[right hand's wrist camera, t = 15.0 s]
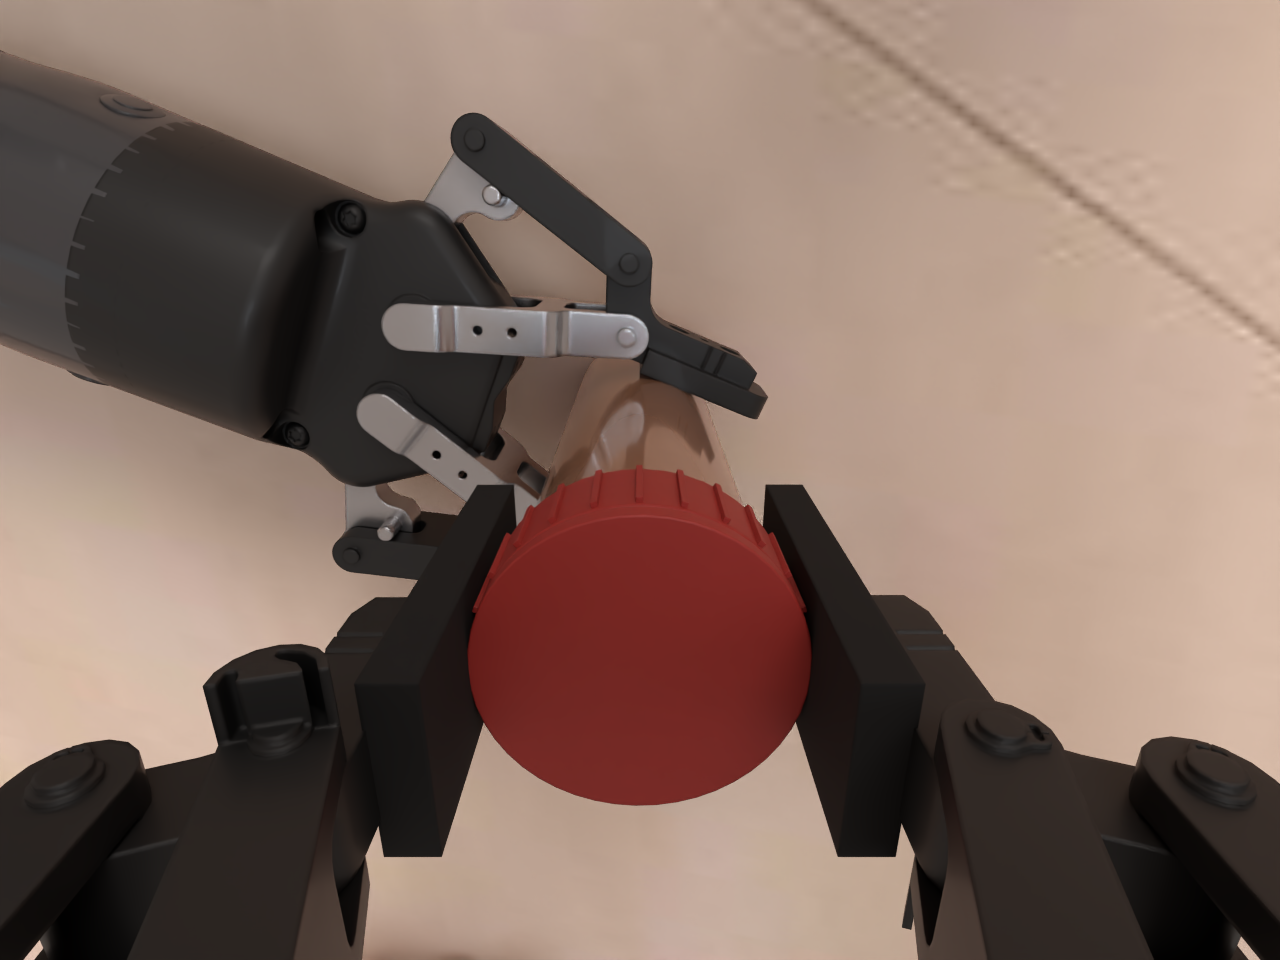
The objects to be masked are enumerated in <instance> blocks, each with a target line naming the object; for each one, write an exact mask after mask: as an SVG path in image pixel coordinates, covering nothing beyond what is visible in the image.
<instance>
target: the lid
mask: <svg viewBox="0 0 1280 960" xmlns="http://www.w3.org/2000/svg"><path fill="white" fill-rule="evenodd" d="M472 612H473V613H476V614H475V617H474V620H473V624H472V627H471V630H470V635H469V642H468V648H467V653H468V666H469V676H470V685H471V692H472V695H473V698H474V701H475V704H476V707H477V709H478V711H479V713H480V716H481V718H482V720H483V722H484V724H485V725H486V727H487V728H488V730H489V731H490V733H491V734H492V736H493V737H494V739H495V740H496V741H497V742H498V743H499V745H500V746H501V747H502V748H503V749H504V750H505V751H506V753H507V754H508V755H510V756H511V757H512V758H513V759H514V760H515V761H516V762H517V763H519V764H520V765H521V766H522V767H523V768H525V769H526V770H528V771H529V772H531V773H532V774H533V775H535V776H536V777H538V778H539V779H541V780H543V781H545V782H547V783H549V784H551V785H553V786H554V787H556V788H559V789H561V790H564V791H566V792H569V793H571V794H574V795H577V796H580V797H584V798H587V799H591V800H594V801H600V802H606V803H611V804H620V805H635V806H638V805H660V804H667V803H675V802H680V801H684V800H688V799H692V798H696V797H699V796H702V795H705V794H708V793H711V792H713V791H716V790H718V789H720V788H722V787H725V786H727V785H729V784H731V783H733V782H735V781H736V780H738V779H739V778H741V777H743V776H744V775H746V774H747V773H749V772H751V771H752V770H753V769H754V768H756V767H757V766H758V765H759V764H761V763H762V762H763V761H764V760H766V759H767V758H768V757H769V756H770V755H771V754H772V753H773V751H774V750H775V749H776V748H777V747H778V746H779V745H780V744H781V743H782V741H783V740H784V739H785V737H786V736H787V735H788V733H789V732H790V731H791V729H792V727H793V725H794V724H795V722H796V720H797V718H798V716H799V714H800V713H801V710H802V707H803V705H804V702H805V699H806V697H807V693H808V688H809V681H810V671H811V661H812V648H811V638H810V634H809V630H808V626H807V622H806V619H805V616H804V614H803V613H804V612H807V610H806V606H805V604H804V601H803V599H802V597H801V595H800V592H799V590H798V588H797V585H796V583H795V581H794V578H793V576H792V574H791V571H790V569H789V567H788V565H787V563H786V561H785V558H784V556H783V554H782V551H781V549H780V547H779V544H778V542H777V540H776V537H775V535H774V534H773V533H770V534H767V532H766V530H765V529H764V528H763V526H762V525H761V524H760V523H759V522H758V521H757V519H756V517H755V514H754V512H753V509H752V507H750V506H749V505H747V506H745V507H743V506H742V505H741V504H740V503H739V502H738V501H736V500H735V499H733V498H732V497H730V496H729V495H727V494H726V493H724V492H723V491H722V488H721V485H719V484H717V483H715V484H714V486H711V485H709V484H707V483H705V482H703V481H700V480H697V479H695V478H692V477H689V476H686V475H684V472H683V470H679V469H677V472H676V473H673V472H668V471H662V470H650V469H643V465H636V469H630V470H618V471H612V472H606V473H603V472H602V469H600V470H596V471H595V475H594V476H591V477H587V478H584V479H581V480H579V481H577V482H574V483H572V484H570V485H568V486H565V484H564V483H562V484H560V485H558V488H557V491H556V492H555V493H553V494H552V495H550V496H548V497H547V498H546V499H544V500H543V501H542V502H541V503H539V504H538V505H537V506H536V507H533V506H532V505H530V506H529V507H528V508H527V510H526V512H525V515H524V517H523V520H522V521H521V522H520V523H519V524H518V526H517V527H516V528H515V530H514V531H513V533H512V534H511V535H510V534H509V533H506V534H505V536H504V538H503V540H502V543H501V545H500V547H499V550H498V552H497V554H496V557H495V559H494V561H493V563H492V565H491V568H490V570H489V572H488V575H487V577H486V579H485V581H484V584H483V586H482V588H481V591H480V593H479V595H478V598H477V600H476V602H475V604H474V607H473V610H472Z"/></svg>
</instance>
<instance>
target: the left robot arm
mask: <svg viewBox="0 0 1280 960" xmlns="http://www.w3.org/2000/svg"><path fill="white" fill-rule="evenodd" d="M451 145H452V148H453V151H454V153H453V155H452V157H451V158H450V160H449V162H448V163H447V165H446V167H445V168H444V170H443V171H442V173H441V175H440V176H439V178H438V180H437V181H436V183H435V185H434V186H433V188H432V189H431V191H430V193H429V194H428V196H427V198H426V199H425V201H419V200H406V201H400V202H386V201H383V200H379V199H376V198H373V197H371V196H369V195H366V194H364V193H362V192H359V191H357V190H355V189H352V188H350V187H348V186H345V185H343V184H340V183H338V182H336V181H333V180H331V179H329V178H326V177H324V176H322V175H319V174H317V173H315V172H312V171H310V170H308V169H305V168H303V167H300V166H298V165H296V164H293V163H291V162H289V161H286V160H284V159H282V158H279V157H277V156H275V155H272V154H270V153H267V152H265V151H263V150H260V149H258V148H256V147H253V146H251V145H249V144H246V143H244V142H242V141H239V140H237V139H235V138H232V137H230V136H227V135H225V134H223V133H220V132H218V131H216V130H213V129H211V128H209V127H206V126H204V125H201V124H199V123H196V122H194V121H192V120H189V119H187V118H185V117H182V116H180V115H178V114H175V113H173V112H171V111H168V110H166V109H164V108H161V107H159V106H157V105H154V104H152V103H150V102H147V101H145V100H143V99H140V98H138V97H136V96H133V95H131V94H129V93H126V92H124V91H121V90H119V89H116V88H114V87H111V86H108V85H106V84H103V83H101V82H98V81H94V80H91V79H88V78H85V77H81V76H78V75H75V74H71V73H68V72H65V71H61V70H57V69H54V68H50V67H46V66H42V65H39V64H35V63H32V62H29V61H27V60H24V59H21V58H19V57H16V56H13V55H10V54H7V53H5V52H3V51H1V50H0V344H1V345H3V346H6V347H8V348H11V349H13V350H16V351H18V352H20V353H23V354H25V355H28V356H31V357H34V358H36V359H39V360H42V361H44V362H47V363H50V364H53V365H55V366H58V367H61V368H63V369H66V370H67V371H68V372H70V373H72V374H73V375H74V376H76V377H78V378H80V379H83V380H86V381H89V382H93V383H97V384H101V385H107V386H112V387H115V388H118V389H120V390H123V391H126V392H128V393H131V394H134V395H137V396H139V397H142V398H145V399H147V400H150V401H153V402H155V403H158V404H161V405H164V406H166V407H169V408H172V409H174V410H177V411H180V412H183V413H185V414H188V415H191V416H193V417H196V418H199V419H202V420H204V421H207V422H210V423H212V424H215V425H218V426H221V427H223V428H226V429H229V430H231V431H234V432H237V433H240V434H242V435H245V436H248V437H250V438H253V439H256V440H260V441H263V442H267V443H271V444H276V445H281V446H285V447H289V448H293V449H297V450H300V451H302V452H304V453H306V454H308V455H309V456H311V457H312V458H314V459H315V460H316V461H318V462H319V463H320V464H321V465H322V466H323V467H324V468H325V469H326V470H327V471H328V472H329V473H330V474H331V475H332V476H333V477H335V478H336V479H338V480H339V481H341V482H343V483H345V504H346V530H345V532H344V534H343V536H342V537H341V538H340V539H339V540H338V541H337V542H336V543H335V545H334V547H333V550H332V554H333V558H334V560H335V562H336V563H337V564H338V566H340V567H341V568H342V569H344V570H346V571H349V572H354V573H363V574H371V575H380V576H389V577H397V578H406V579H414V580H418V579H419V578H420V576H421V575H422V573H423V571H424V570H425V568H426V567H427V565H428V563H429V562H430V560H431V558H432V557H433V555H434V554H435V552H436V550H437V549H438V547H439V546H440V544H441V542H442V541H443V539H444V537H445V536H446V534H447V533H448V531H449V529H450V528H451V526H452V525H453V523H454V521H455V520H456V518H457V517H458V516H457V515H449V514H441V513H433V512H424V511H421V510H420V508H419V506H418V504H417V503H416V501H415V500H414V499H412V498H408V497H405V496H401V495H399V494H397V493H395V492H394V491H393V490H392V489H391V488H390V487H389V486H388V484H387V483H388V482H393V481H397V480H401V479H406V478H410V477H415V476H419V475H423V474H428V473H429V474H430V475H431V476H433V477H434V478H435V479H437V480H438V481H439V482H441V483H442V484H443V485H445V486H446V487H447V488H449V489H450V490H451V491H453V492H454V493H455V494H456V495H458V496H459V497H460V498H462V499H463V500H464V501H466V502H467V500H468V499H469V497H470V496H471V494H472V492H473V491H474V489H475V487H476V486H477V485H514V494H515V508H516V523H517V526H518V524H519V523H520V522H521V521H522V520H523V517H524V515H525V512H526V510H527V508H528V507H529V506H530V505H532V506H533V507H536V505H537V502H538V500H539V497H540V494H541V492H542V489H543V486H544V483H545V481H546V478H547V475H548V473H549V472H547V471H546V470H545V469H544V468H542V467H541V466H540V465H539V464H537V463H536V462H535V461H533V460H532V459H531V458H530V457H529V455H528V454H527V452H526V450H525V448H524V447H523V446H522V445H521V444H520V443H519V442H518V441H517V440H515V439H514V438H513V437H512V436H510V435H509V434H508V433H507V432H505V431H504V430H503V429H502V428H500V425H501V422H502V419H503V416H504V413H505V409H506V394H507V386H508V384H509V382H510V381H511V379H512V378H513V377H514V375H515V374H516V372H517V371H518V369H519V368H520V367H521V365H522V363H523V360H524V357H525V356H526V357H542V358H553V357H559V356H580V357H595V358H611V359H631V360H633V361H636V362H638V363H640V373H641V374H644V375H646V376H648V377H651V378H653V379H656V380H658V381H661V382H663V383H666V384H669V385H671V386H674V387H676V388H678V389H680V390H683V391H685V392H687V393H690V394H692V395H695V396H697V397H700V398H702V399H704V400H707V401H709V402H712V403H714V404H717V405H719V406H722V407H724V408H726V409H729V410H731V411H734V412H736V413H739V414H741V415H743V416H746V417H749V418H752V419H758V417H759V415H760V412H761V410H762V408H763V406H764V404H765V402H766V400H767V398H768V396H767V395H766V393H765V392H764V391H763V389H762V388H761V387H760V386H759V385H758V384H756V383H754V382H753V381H754V379H755V377H756V374H757V373H756V371H755V370H754V369H753V367H752V366H751V365H750V364H749V363H748V362H747V361H746V360H745V359H744V357H743V356H742V355H741V354H740V353H739V352H738V351H736V350H733V349H731V348H728V347H726V346H724V345H721V344H719V343H717V342H714V341H712V340H710V339H707V338H705V337H703V336H700V335H698V334H695V333H693V332H691V331H688V330H686V329H684V328H681V327H679V326H677V325H674V324H672V323H669V322H667V321H665V320H663V319H662V318H660V317H659V316H658V315H657V314H656V313H655V311H654V310H653V308H652V306H651V303H650V295H651V274H652V257H651V254H650V251H649V249H648V247H647V246H646V244H645V243H644V242H643V241H641V240H640V239H639V238H638V237H636V236H635V235H634V234H633V233H631V232H630V231H629V230H628V229H627V228H625V227H624V226H623V225H622V224H620V223H619V222H618V221H617V220H615V219H614V218H613V217H612V216H611V215H609V214H608V213H607V212H606V211H604V210H603V209H602V208H601V207H599V206H598V205H597V204H596V203H595V202H593V201H592V200H591V199H590V198H588V197H587V196H586V195H585V194H583V193H582V192H581V191H580V190H579V189H577V188H576V187H575V186H574V185H572V184H571V183H570V182H569V181H568V180H566V179H565V178H564V177H563V176H561V175H560V174H559V173H558V172H556V171H555V170H554V169H553V168H552V167H550V166H549V165H548V164H547V163H545V162H544V161H543V160H542V159H540V158H539V157H538V156H537V155H536V154H534V153H533V152H532V151H531V150H529V149H528V148H527V147H526V146H524V145H523V144H522V143H521V142H520V141H518V140H517V139H516V138H515V137H513V136H512V135H511V134H510V133H508V132H507V131H506V130H504V129H503V128H502V127H500V126H499V125H497V124H496V123H494V122H493V121H491V120H490V119H489V118H487V117H486V116H484V115H482V114H479V113H468V114H465V115H463V116H461V117H460V118H458V120H457V121H456V122H455V123H454V125H453V128H452V131H451ZM522 210H524V211H525V212H527V213H528V214H529V215H530V216H532V217H533V218H534V219H536V220H537V221H538V222H539V223H541V224H542V225H543V226H544V227H546V228H547V229H548V230H549V231H551V232H552V233H553V234H555V235H556V236H557V237H558V238H560V239H561V240H562V241H563V242H565V243H566V244H567V245H568V246H570V247H571V248H572V249H574V250H575V251H576V252H577V253H579V254H580V255H581V256H582V257H584V258H585V259H586V260H588V261H589V262H590V263H591V264H593V265H594V266H595V267H596V268H598V269H599V270H600V271H601V272H603V273H604V274H605V275H607V283H606V303H597V302H582V301H572V300H569V299H562V298H549V297H534V296H520V295H509V293H508V292H507V290H506V288H505V287H504V285H503V284H502V282H501V281H500V279H499V278H498V276H497V275H496V273H495V272H494V270H493V269H492V267H491V266H490V264H489V263H488V261H487V260H486V258H485V257H484V255H483V254H482V252H481V251H480V249H479V247H478V246H477V244H476V243H475V241H474V240H473V238H472V237H471V235H470V234H469V232H468V231H467V229H466V228H465V226H464V225H463V223H462V222H463V221H464V220H465V219H466V218H467V217H468V216H470V215H472V214H474V213H480V214H482V215H484V216H486V217H488V218H490V219H492V220H498V221H507V220H512V219H514V218H516V217H517V216H518V215H519V214H520V213H521V212H522ZM464 471H465V472H466V473H465V472H464Z"/></svg>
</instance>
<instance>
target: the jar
mask: <svg viewBox="0 0 1280 960" xmlns="http://www.w3.org/2000/svg"><path fill="white" fill-rule="evenodd" d="M636 465H643V469H650V470H662V471H668V472H673V473H676V472H677V469H679V470H683V472H684V475H686V476H689V477H692V478H695V479H697V480H700V481H703V482H705V483H707V484H709V485H711V486H714V484H715V483H717V484H719V485H721V488H722V491H723V492H724V493H726V494H727V495H729V496H730V497H732V498H733V499H735V500H736V501H738V502H739V503H740V504H741V505H742V506H743V504H742V501H741V498H740V496H739V493H738V490H737V487H736V485H735V482H734V479H733V476H732V474H731V471H730V468H729V465H728V463H727V460H726V457H725V454H724V452H723V449H722V446H721V444H720V441H719V438H718V435H717V433H716V430H715V427H714V424H713V422H712V419H711V416H710V413H709V411H708V408H707V405H706V402H705V400H704V399H702V398H700V397H697V396H695V395H692V394H690V393H687V392H685V391H683V390H680V389H678V388H676V387H674V386H671V385H669V384H666V383H663V382H661V381H658V380H656V379H653V378H651V377H648V376H646V375H644V374H641V373H640V363H638V362H636V361H633V360H631V359H611V358H595V359H594V360H593V362H592V363H591V364H590V366H589V367H588V369H587V371H586V373H585V375H584V377H583V380H582V383H581V385H580V388H579V391H578V394H577V396H576V399H575V402H574V404H573V407H572V410H571V413H570V415H569V418H568V421H567V423H566V426H565V429H564V432H563V434H562V437H561V440H560V443H559V445H558V448H557V451H556V453H555V456H554V459H553V462H552V464H551V467H550V470H549V473H548V475H547V478H546V481H545V483H544V486H543V489H542V492H541V494H540V497H539V500H538V502H537V505H538V504H539V503H541V502H542V501H543V500H544V499H546V498H547V497H548V496H550V495H552V494H553V493H555V492H556V491H557V488H558V485H560V484H562V483H564V484H565V486H568V485H570V484H572V483H574V482H577V481H579V480H581V479H584V478H587V477H591V476H594V475H595V471H596V470H600V469H602V472H603V473H606V472H612V471H618V470H630V469H636ZM537 505H536V506H537Z"/></svg>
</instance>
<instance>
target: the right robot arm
mask: <svg viewBox="0 0 1280 960" xmlns="http://www.w3.org/2000/svg"><path fill="white" fill-rule="evenodd" d="M516 527H517V523H516V508H515V494H514V485H477V486H476V487H475V489H474V491H473V492H472V494H471V496H470V497H469V499H468V500H467V502H466V504H465V505H464V507H463V508H462V510H461V512H460V513H459V515H458V517H457V518H456V520H455V521H454V523H453V525H452V526H451V528H450V529H449V531H448V533H447V534H446V536H445V537H444V539H443V541H442V542H441V544H440V546H439V547H438V549H437V550H436V552H435V554H434V555H433V557H432V558H431V560H430V562H429V563H428V565H427V567H426V568H425V570H424V571H423V573H422V575H421V576H420V578H419V579H418V581H417V583H416V584H415V586H414V587H413V589H412V591H411V592H410V594H409V596H408V597H376V598H374V599H373V600H371V601H370V602H368V603H367V604H365V605H364V606H362V607H361V608H359V609H358V610H356V611H355V612H353V613H352V614H351V615H350V616H349V618H348V619H347V620H346V622H345V623H344V624H343V626H342V627H341V628H340V630H339V631H338V632H337V637H334V638H333V639H332V641H331V642H330V643H329V645H328V646H327V647H326V651H325V653H323V652H322V651H321V650H320V649H319V648H316V647H312V646H307V645H303V644H289V645H277V646H272V647H268V648H264V649H259V650H255V651H253V652H251V653H248V654H246V655H243V656H241V657H239V658H236V659H234V660H232V661H231V662H229V663H228V664H226V665H225V666H223V667H222V668H220V669H219V670H217V671H216V672H214V673H213V675H212V676H211V677H210V678H209V679H208V680H207V682H206V683H205V684H204V685H203V690H204V693H205V697H206V701H207V705H208V708H209V712H210V716H211V720H212V723H213V727H214V731H215V734H216V738H217V742H218V747H217V750H216V752H215V753H213V754H210V755H206V756H203V757H199V758H195V759H190V760H186V761H181V762H176V763H172V764H167V765H163V766H158V767H154V768H149V769H145V768H144V765H143V762H142V759H141V756H140V752H139V750H138V749H136V748H135V747H134V746H133V745H131V744H130V743H129V742H123V741H116V740H103V741H95V742H88V743H83V744H80V745H76V746H72V747H71V748H66V749H63V750H60V751H58V752H55V753H53V754H52V755H50V756H48V757H46V758H44V759H42V760H40V761H38V762H36V763H34V764H32V765H30V766H28V767H27V768H26V769H24V770H23V771H21V772H20V773H19V774H17V775H16V776H15V777H13V778H12V779H11V780H9V781H8V782H6V783H5V784H4V785H3V786H2V787H1V788H0V960H24V958H25V957H26V956H27V955H28V953H29V952H30V951H31V950H32V949H33V947H34V946H35V945H36V944H37V942H38V941H39V940H40V941H41V944H42V946H43V950H42V951H41V952H40V953H39V955H38V956H37V957H36V958H35V960H362V954H363V944H364V935H365V926H366V917H367V907H368V898H369V889H370V881H369V874H368V868H367V863H366V857H365V855H366V853H367V851H368V849H369V846H370V844H371V842H372V839H373V837H374V835H375V832H376V830H377V828H378V825H379V831H380V837H381V843H382V848H383V854H384V857H442V854H443V851H444V848H445V845H446V841H447V838H448V835H449V832H450V829H451V825H452V822H453V819H454V816H455V813H456V809H457V806H458V803H459V800H460V797H461V793H462V790H463V787H464V784H465V781H466V777H467V774H468V771H469V768H470V765H471V761H472V758H473V755H474V752H475V749H476V745H477V742H478V739H479V736H480V733H481V729H482V726H483V723H484V722H483V720H482V718H481V716H480V713H479V711H478V709H477V707H476V704H475V701H474V698H473V695H472V692H471V685H470V676H469V666H468V653H467V648H468V642H469V635H470V630H471V627H472V624H473V620H474V617H475V614H476V613H473V612H472V610H473V607H474V604H475V602H476V600H477V598H478V595H479V593H480V591H481V588H482V586H483V584H484V581H485V579H486V577H487V575H488V572H489V570H490V568H491V565H492V563H493V561H494V559H495V557H496V554H497V552H498V550H499V547H500V545H501V543H502V540H503V538H504V536H505V534H506V533H509V534H510V535H511V534H512V533H513V531H514V530H515V528H516ZM763 528H764V529H765V530H766V532H767V534H770V533H773V534H774V535H775V537H776V540H777V542H778V544H779V547H780V549H781V551H782V554H783V556H784V558H785V561H786V563H787V565H788V567H789V569H790V571H791V574H792V576H793V578H794V581H795V583H796V585H797V588H798V590H799V592H800V595H801V597H802V599H803V601H804V604H805V606H806V610H807V612H804V613H803V614H804V616H805V619H806V622H807V626H808V630H809V634H810V638H811V648H812V661H811V671H810V681H809V688H808V693H807V697H806V699H805V702H804V705H803V707H802V710H801V713H800V714H799V716H798V718H797V720H796V724H797V727H798V731H799V734H800V737H801V740H802V743H803V747H804V750H805V753H806V756H807V759H808V763H809V766H810V769H811V772H812V775H813V779H814V782H815V785H816V788H817V792H818V795H819V798H820V801H821V804H822V808H823V811H824V814H825V817H826V820H827V824H828V827H829V830H830V833H831V836H832V840H833V843H834V846H835V849H836V852H837V856H838V857H896V852H897V846H898V840H899V835H900V829H901V823H902V825H903V828H904V830H905V832H906V835H907V837H908V839H909V841H910V844H911V846H912V848H913V851H914V853H915V857H914V863H913V868H912V873H911V879H910V884H909V889H908V895H907V900H906V905H905V911H904V917H903V924H902V928H906V929H910V930H911V928H912V923H913V918H914V924H915V933H916V943H917V952H918V960H1248V959H1247V957H1246V956H1245V955H1244V954H1243V952H1242V951H1241V950H1240V949H1239V947H1238V946H1237V945H1238V942H1239V940H1240V938H1241V937H1242V938H1243V939H1244V940H1245V941H1246V943H1247V944H1248V945H1249V946H1250V948H1251V949H1252V950H1253V951H1254V952H1255V954H1256V955H1257V956H1258V957H1259V959H1260V960H1280V784H1279V783H1278V782H1277V781H1276V780H1275V779H1273V778H1272V777H1270V776H1269V775H1268V774H1266V773H1265V772H1264V771H1262V770H1261V769H1260V768H1258V767H1257V766H1255V765H1254V764H1253V763H1251V762H1249V761H1247V760H1245V759H1243V758H1241V757H1239V756H1237V755H1235V754H1233V753H1231V752H1229V751H1228V750H1226V749H1223V748H1221V747H1218V746H1215V745H1213V744H1212V745H1210V744H1209V743H1205V742H1201V741H1198V740H1193V739H1186V738H1179V737H1164V738H1156V739H1152V740H1150V741H1149V742H1148V743H1147V744H1145V745H1144V746H1143V747H1141V751H1140V754H1139V757H1138V760H1137V763H1136V766H1131V765H1126V764H1122V763H1117V762H1113V761H1108V760H1103V759H1099V758H1094V757H1089V756H1085V755H1080V754H1077V753H1073V752H1070V751H1066V750H1064V749H1063V746H1062V744H1061V743H1060V741H1059V740H1058V739H1057V737H1056V736H1055V734H1054V733H1053V732H1052V730H1051V729H1050V728H1049V727H1047V726H1046V725H1045V724H1043V723H1042V722H1041V721H1039V720H1038V719H1037V718H1036V717H1034V716H1033V715H1031V714H1029V713H1027V712H1024V711H1022V710H1020V709H1018V708H1016V707H1014V706H1012V705H1008V704H1004V703H1001V702H997V701H995V700H994V699H993V698H992V696H991V695H990V693H989V692H988V691H987V689H986V688H985V687H984V685H983V684H982V683H981V681H980V680H979V679H978V677H977V676H976V675H975V673H974V672H973V671H972V669H971V668H970V667H969V665H968V664H967V663H966V661H965V660H964V658H963V657H962V656H961V654H960V653H959V652H958V650H955V648H954V647H955V646H954V645H953V644H952V642H951V641H950V640H949V638H948V637H947V636H946V634H943V630H942V629H941V627H940V626H939V625H938V623H937V622H936V621H935V619H934V618H933V617H932V615H931V614H930V613H929V611H927V610H926V609H924V608H923V607H921V606H920V605H918V604H917V603H915V602H914V601H912V600H911V599H909V598H908V597H906V596H905V595H870V593H869V591H868V590H867V588H866V587H865V585H864V583H863V582H862V580H861V579H860V577H859V575H858V574H857V572H856V570H855V569H854V567H853V566H852V564H851V562H850V561H849V559H848V558H847V556H846V554H845V553H844V551H843V549H842V548H841V546H840V545H839V543H838V541H837V540H836V538H835V537H834V535H833V533H832V532H831V530H830V529H829V527H828V525H827V524H826V522H825V520H824V519H823V517H822V516H821V514H820V512H819V511H818V509H817V508H816V506H815V504H814V503H813V501H812V499H811V498H810V496H809V495H808V493H807V491H806V490H805V488H804V487H803V485H766V488H765V502H764V517H763Z"/></svg>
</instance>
